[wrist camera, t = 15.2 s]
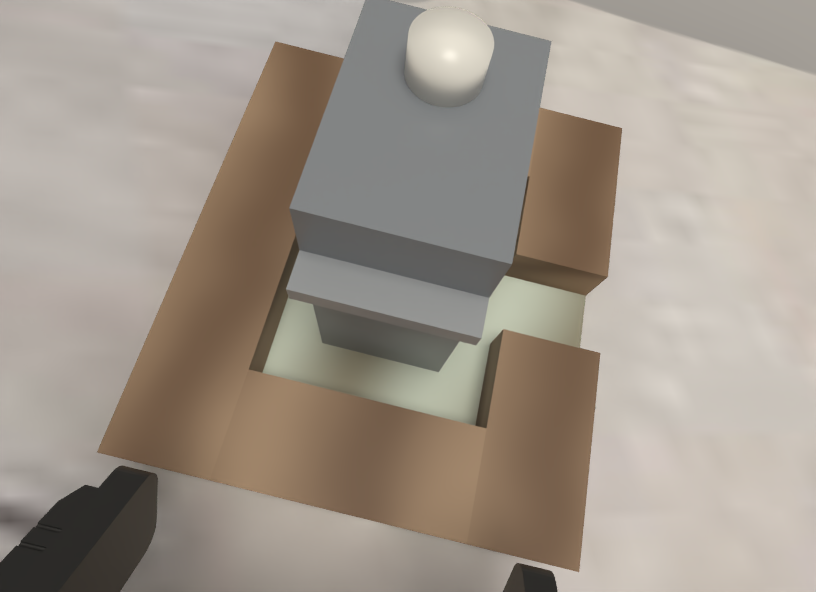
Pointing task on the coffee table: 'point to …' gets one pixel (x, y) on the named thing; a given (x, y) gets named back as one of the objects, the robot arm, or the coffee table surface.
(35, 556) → the robot arm
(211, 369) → the walnut plate
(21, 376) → the coffee table surface
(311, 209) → the block
